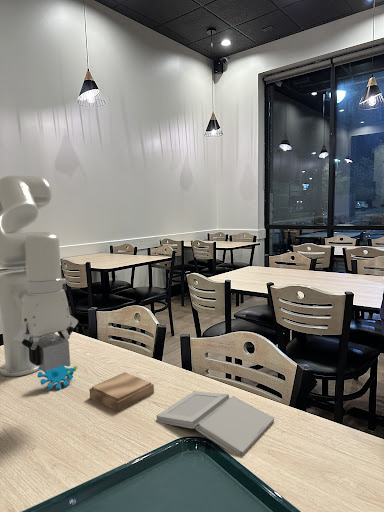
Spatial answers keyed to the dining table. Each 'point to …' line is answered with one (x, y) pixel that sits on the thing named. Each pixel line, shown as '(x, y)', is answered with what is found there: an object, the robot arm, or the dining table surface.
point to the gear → (57, 375)
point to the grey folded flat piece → (219, 419)
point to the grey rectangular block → (53, 351)
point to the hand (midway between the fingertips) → (49, 358)
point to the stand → (121, 391)
